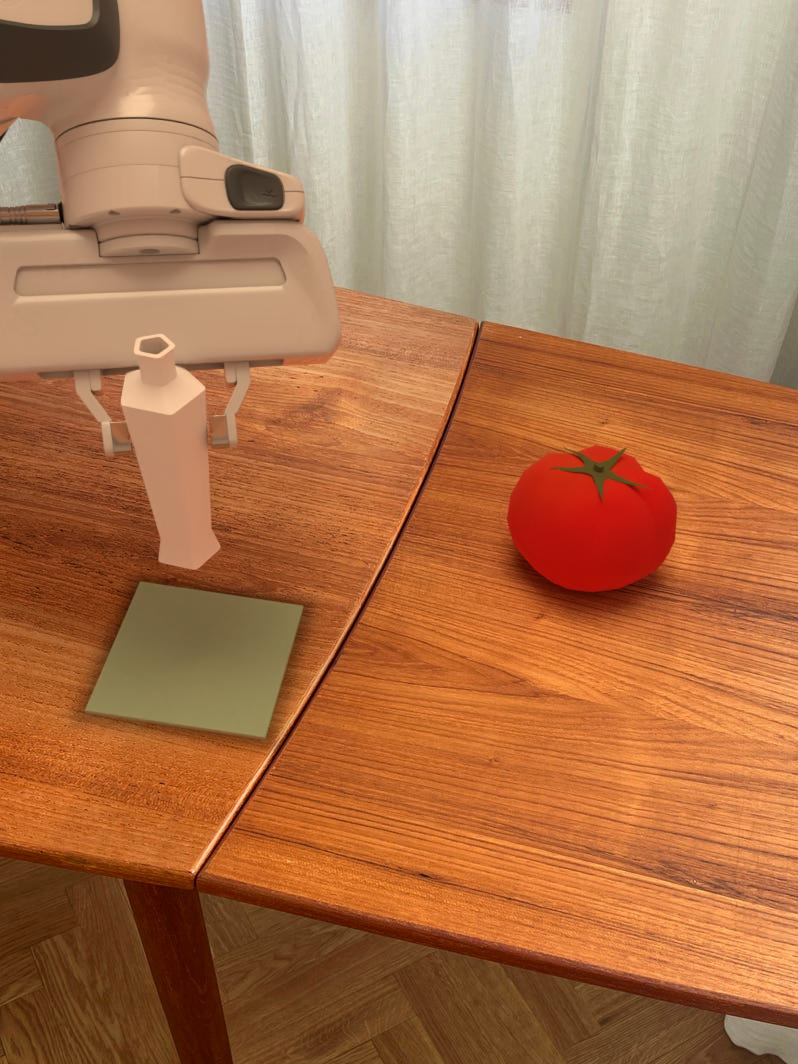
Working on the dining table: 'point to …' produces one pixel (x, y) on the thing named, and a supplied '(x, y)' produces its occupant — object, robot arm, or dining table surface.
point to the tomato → (592, 519)
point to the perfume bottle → (171, 450)
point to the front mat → (198, 661)
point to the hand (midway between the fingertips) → (173, 451)
